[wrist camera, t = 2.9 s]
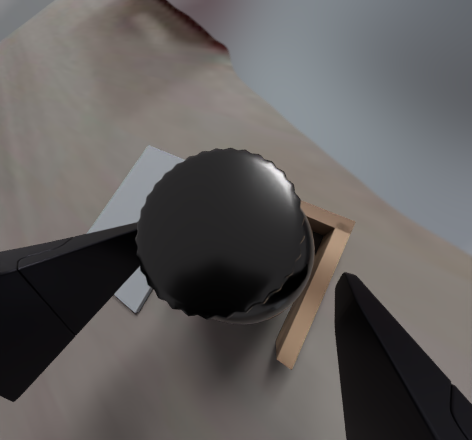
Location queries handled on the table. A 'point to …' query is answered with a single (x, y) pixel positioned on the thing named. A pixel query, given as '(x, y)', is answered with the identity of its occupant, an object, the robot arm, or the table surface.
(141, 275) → the slate mat
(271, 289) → the supplement bottle
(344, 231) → the tan wooden bay
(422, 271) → the table surface
